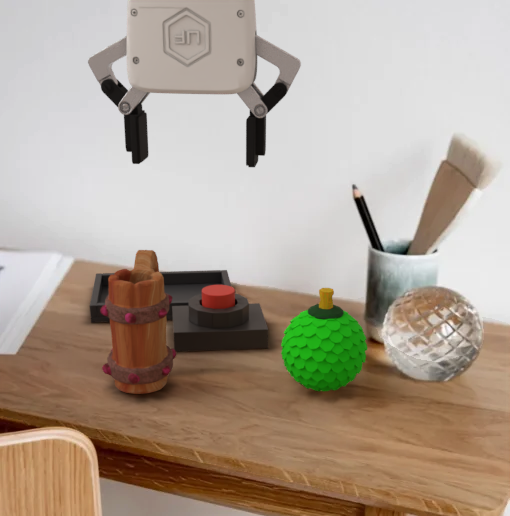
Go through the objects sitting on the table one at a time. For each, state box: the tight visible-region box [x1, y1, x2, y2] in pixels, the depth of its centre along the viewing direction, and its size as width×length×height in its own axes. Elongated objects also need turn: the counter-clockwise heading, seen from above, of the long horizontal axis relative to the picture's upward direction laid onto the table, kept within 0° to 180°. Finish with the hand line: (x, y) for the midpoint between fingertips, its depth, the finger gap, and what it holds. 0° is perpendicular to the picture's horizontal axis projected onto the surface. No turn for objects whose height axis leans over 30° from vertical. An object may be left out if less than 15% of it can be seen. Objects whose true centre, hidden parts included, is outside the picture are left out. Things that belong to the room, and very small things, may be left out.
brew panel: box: [172, 293, 269, 353], centre depth 92 cm, size 10×8×4 cm
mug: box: [100, 249, 177, 395], centre depth 81 cm, size 12×6×12 cm, turn 176°
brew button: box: [202, 285, 236, 309], centre depth 91 cm, size 4×4×2 cm
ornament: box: [280, 287, 368, 392], centre depth 79 cm, size 8×8×10 cm
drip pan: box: [89, 269, 232, 323], centre depth 102 cm, size 17×12×2 cm
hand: (196, 162), depth 71 cm, fingers open, 9 cm apart
